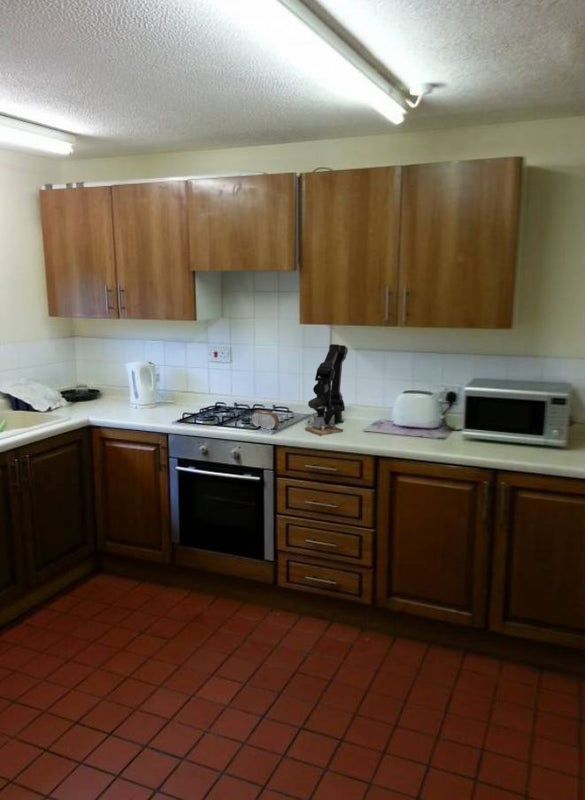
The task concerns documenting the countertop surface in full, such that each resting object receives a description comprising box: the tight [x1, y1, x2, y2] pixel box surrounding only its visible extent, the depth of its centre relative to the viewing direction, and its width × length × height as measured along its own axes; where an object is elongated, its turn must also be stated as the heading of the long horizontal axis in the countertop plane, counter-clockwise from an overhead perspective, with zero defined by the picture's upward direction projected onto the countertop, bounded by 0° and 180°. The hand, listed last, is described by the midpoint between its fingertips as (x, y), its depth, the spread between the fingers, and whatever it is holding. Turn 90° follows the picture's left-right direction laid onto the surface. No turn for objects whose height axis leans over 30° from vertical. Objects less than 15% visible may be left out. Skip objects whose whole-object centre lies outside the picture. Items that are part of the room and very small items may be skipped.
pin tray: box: [304, 422, 344, 437], centre depth 310 cm, size 14×12×4 cm
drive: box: [313, 413, 335, 428], centre depth 309 cm, size 10×4×5 cm, turn 132°
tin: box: [250, 409, 280, 429], centre depth 313 cm, size 15×3×8 cm, turn 59°
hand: (324, 423), depth 309 cm, fingers closed on drive, 4 cm apart
